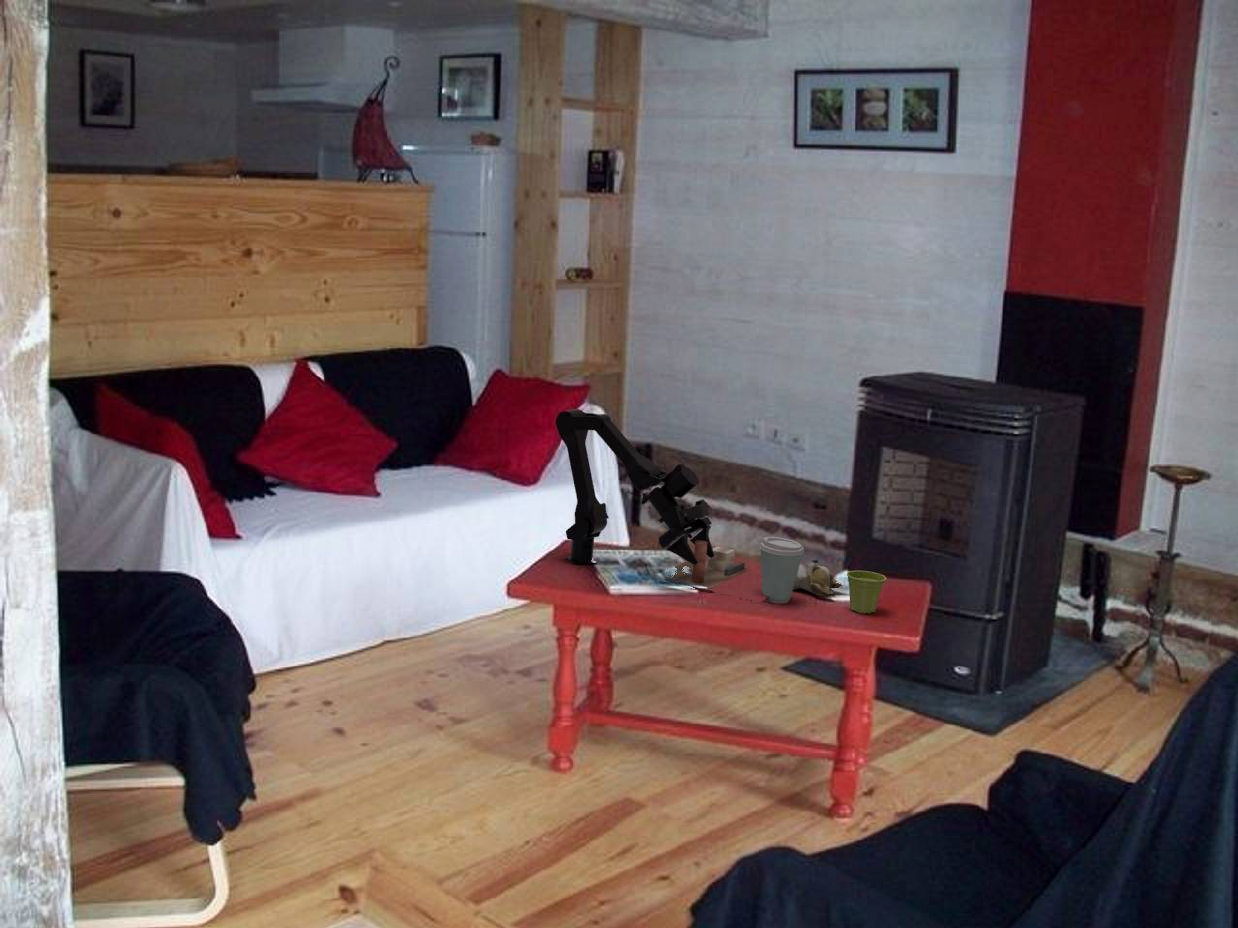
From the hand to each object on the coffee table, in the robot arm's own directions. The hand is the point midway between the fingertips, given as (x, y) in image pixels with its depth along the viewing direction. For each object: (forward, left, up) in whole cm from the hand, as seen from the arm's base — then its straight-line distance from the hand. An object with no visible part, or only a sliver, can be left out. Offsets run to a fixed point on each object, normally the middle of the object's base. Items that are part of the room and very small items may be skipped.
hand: (704, 560), depth 350 cm
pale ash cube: (-11, +10, -6) cm, 16 cm away
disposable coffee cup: (+11, +15, -7) cm, 20 cm away
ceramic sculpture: (+6, +28, -7) cm, 29 cm away
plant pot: (+21, +33, -7) cm, 40 cm away
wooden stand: (-9, +4, -7) cm, 12 cm away
